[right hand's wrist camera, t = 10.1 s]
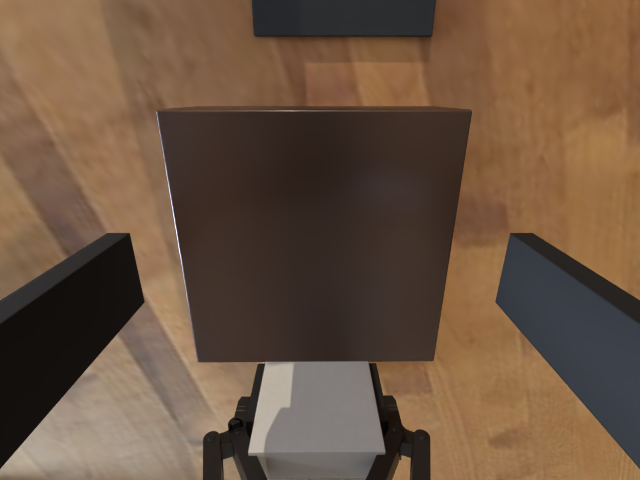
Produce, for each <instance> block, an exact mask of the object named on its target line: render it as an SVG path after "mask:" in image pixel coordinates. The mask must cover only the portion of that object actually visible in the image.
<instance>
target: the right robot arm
mask: <svg viewBox="0 0 640 480" xmlns="http://www.w3.org/2000/svg"><path fill="white" fill-rule="evenodd" d="M143 303H144V297H143V293H142V288H141V283H140V279H139V274H138V269H137V265H136V260H135V256H134V251H133V246H132V242H131V237H130V233H107V234H105V235H104V236H102V237H100V238H99V239H97V240H96V241H94V242H93V243H91V244H89V245H88V246H86V247H85V248H83V249H81V250H80V251H78V252H77V253H75V254H73V255H72V256H70V257H69V258H67V259H65V260H64V261H62V262H61V263H59V264H58V265H56V266H54V267H53V268H51V269H50V270H48V271H46V272H45V273H43V274H42V275H40V276H38V277H37V278H35V279H34V280H32V281H31V282H29V283H27V284H26V285H24V286H23V287H21V288H19V289H18V290H16V291H15V292H13V293H11V294H10V295H8V296H7V297H5V298H3V299H2V300H0V468H1V467H2V466H3V465H4V464H5V463H6V462H7V460H8V459H9V458H10V457H11V456H12V455H13V453H14V452H15V451H16V450H17V449H18V448H19V447H20V445H21V444H22V443H23V442H24V441H25V440H26V438H27V437H28V436H29V435H30V434H31V433H32V431H33V430H34V429H35V428H36V427H37V426H38V425H39V423H40V422H41V421H42V420H43V419H44V418H45V416H46V415H47V414H48V413H49V412H50V411H51V410H52V408H53V407H54V406H55V405H56V404H57V403H58V401H59V400H60V399H61V398H62V397H63V396H64V395H65V393H66V392H67V391H68V390H69V389H70V388H71V386H72V385H73V384H74V383H75V382H76V381H77V380H78V378H79V377H80V376H81V375H82V374H83V373H84V371H85V370H86V369H87V368H88V367H89V366H90V364H91V363H92V362H93V361H94V360H95V359H96V358H97V356H98V355H99V354H100V353H101V352H102V351H103V349H104V348H105V347H106V346H107V345H108V344H109V343H110V341H111V340H112V339H113V338H114V337H115V336H116V334H117V333H118V332H119V331H120V330H121V329H122V328H123V326H124V325H125V324H126V323H127V322H128V321H129V319H130V318H131V317H132V316H133V315H134V314H135V313H136V311H137V310H138V309H139V308H140V307H141V306H142V304H143ZM496 303H497V304H498V306H499V307H500V308H501V309H502V310H503V311H504V313H505V314H506V315H507V316H508V317H509V318H510V319H511V321H512V322H513V323H514V324H515V325H516V326H517V328H518V329H519V330H520V331H521V332H522V333H523V334H524V336H525V337H526V338H527V339H528V340H529V341H530V343H531V344H532V345H533V346H534V347H535V348H536V349H537V351H538V352H539V353H540V354H541V355H542V356H543V358H544V359H545V360H546V361H547V362H548V363H549V364H550V366H551V367H552V368H553V369H554V370H555V371H556V373H557V374H558V375H559V376H560V377H561V378H562V380H563V381H564V382H565V383H566V384H567V385H568V386H569V388H570V389H571V390H572V391H573V392H574V393H575V395H576V396H577V397H578V398H579V399H580V400H581V401H582V403H583V404H584V405H585V406H586V407H587V408H588V410H589V411H590V412H591V413H592V414H593V415H594V416H595V418H596V419H597V420H598V421H599V422H600V423H601V425H602V426H603V427H604V428H605V429H606V430H607V431H608V433H609V434H610V435H611V436H612V437H613V438H614V440H615V441H616V442H617V443H618V444H619V445H620V447H621V448H622V449H623V450H624V451H625V452H626V453H627V455H628V456H629V457H630V458H631V459H632V460H633V462H634V463H635V464H636V465H637V466H638V467H639V468H640V300H638V299H637V298H635V297H633V296H632V295H630V294H629V293H627V292H625V291H624V290H622V289H621V288H619V287H617V286H616V285H614V284H613V283H611V282H609V281H608V280H606V279H605V278H603V277H602V276H600V275H598V274H597V273H595V272H594V271H592V270H590V269H589V268H587V267H586V266H584V265H582V264H581V263H579V262H578V261H576V260H575V259H573V258H571V257H570V256H568V255H567V254H565V253H563V252H562V251H560V250H559V249H557V248H555V247H554V246H552V245H551V244H549V243H547V242H546V241H544V240H543V239H541V238H540V237H538V236H536V235H535V234H533V233H510V237H509V242H508V246H507V251H506V256H505V260H504V265H503V269H502V274H501V279H500V283H499V288H498V293H497V297H496Z"/></svg>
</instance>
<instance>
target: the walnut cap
mask: <svg viewBox="0 0 640 480" xmlns="http://www.w3.org/2000/svg"><path fill="white" fill-rule="evenodd" d="M156 114H157V120H158V126H159V132H160V138H161V144H162V150H163V156H164V162H165V168H166V174H167V180H168V186H169V192H170V198H171V204H172V210H173V216H174V222H175V228H176V234H177V241H178V247H179V253H180V259H181V265H182V271H183V277H184V283H185V289H186V295H187V301H188V307H189V313H190V319H191V325H192V331H193V337H194V343H195V349H196V355H197V361H198V362H348V361H433V360H434V355H435V348H436V342H437V335H438V329H439V322H440V316H441V309H442V303H443V296H444V290H445V283H446V277H447V270H448V264H449V257H450V251H451V244H452V238H453V231H454V225H455V219H456V212H457V206H458V199H459V193H460V186H461V180H462V173H463V167H464V160H465V154H466V147H467V141H468V134H469V128H470V121H471V115H472V111H471V110H469V109H457V108H445V107H434V106H196V107H184V108H172V109H160V110H157V111H156Z"/></svg>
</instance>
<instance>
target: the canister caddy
mask: <svg viewBox="0 0 640 480" xmlns="http://www.w3.org/2000/svg"><path fill="white" fill-rule="evenodd" d="M385 452H386V451H385V446H384V441H383V436H382V430H381V425H380V420H379V415H378V410H377V404H376V399H375V394H374V389H373V384H372V378H371V373H370V368H369V363H368V361H348V362H266V363H265V368H264V373H263V378H262V384H261V389H260V394H259V399H258V404H257V409H256V415H255V420H254V425H253V430H252V435H251V440H250V446H249V451H248V455H249V456H257V457H258V459H259V461H260V464H261V466H262V468H263V470H264V473H265V475H266V477H267V479H268V480H282V479H366V478H367V476H368V473H369V471H370V469H371V467H372V464H373V462H374V460H375V458H376V455H385Z"/></svg>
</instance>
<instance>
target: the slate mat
mask: <svg viewBox="0 0 640 480" xmlns="http://www.w3.org/2000/svg"><path fill="white" fill-rule="evenodd" d="M435 2H436V0H252V9H253V25H254V36H376V37H430V36H432V30H433V20H434V11H435Z"/></svg>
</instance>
